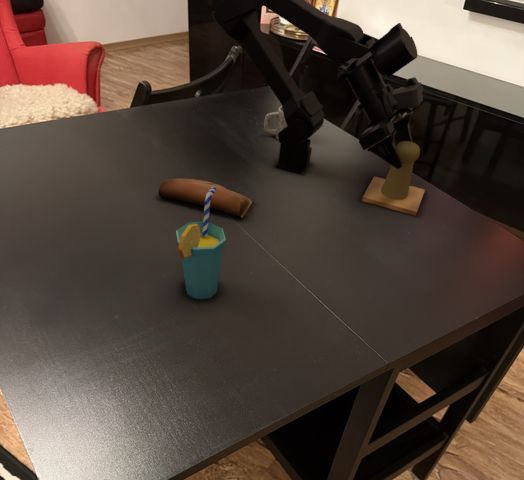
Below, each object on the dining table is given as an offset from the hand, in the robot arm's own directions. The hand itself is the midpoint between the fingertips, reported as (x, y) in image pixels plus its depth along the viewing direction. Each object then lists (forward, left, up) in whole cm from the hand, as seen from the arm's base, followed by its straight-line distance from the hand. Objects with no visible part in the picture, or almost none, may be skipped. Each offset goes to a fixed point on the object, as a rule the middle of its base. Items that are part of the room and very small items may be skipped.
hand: (406, 159), depth 101 cm
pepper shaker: (0, 0, -8) cm, 8 cm away
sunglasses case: (-35, -23, -9) cm, 43 cm away
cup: (-23, -48, -9) cm, 54 cm away
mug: (-33, +16, -9) cm, 38 cm away
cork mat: (0, 0, -9) cm, 9 cm away
